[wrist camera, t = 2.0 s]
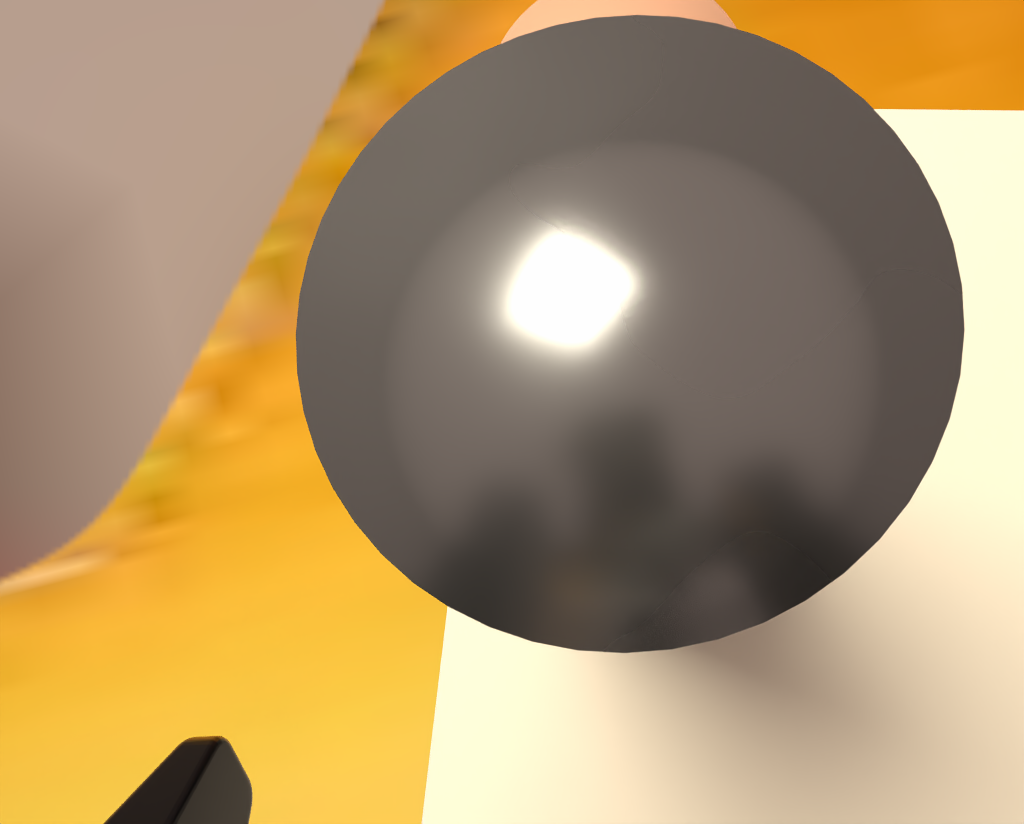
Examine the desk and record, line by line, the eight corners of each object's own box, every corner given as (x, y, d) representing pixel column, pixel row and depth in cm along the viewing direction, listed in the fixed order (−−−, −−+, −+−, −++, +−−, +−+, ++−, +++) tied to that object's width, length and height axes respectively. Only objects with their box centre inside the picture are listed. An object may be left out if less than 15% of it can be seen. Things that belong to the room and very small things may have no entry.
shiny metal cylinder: (753, 626, 18) (957, 699, 5) (533, 601, 18) (249, 608, 6) (765, 409, 18) (969, 11, 6) (555, 394, 19) (344, 17, 7)
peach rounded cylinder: (722, 309, 19) (740, 212, 14) (520, 299, 20) (472, 203, 15) (735, 120, 20) (756, -33, 15) (540, 117, 21) (501, -28, 16)
